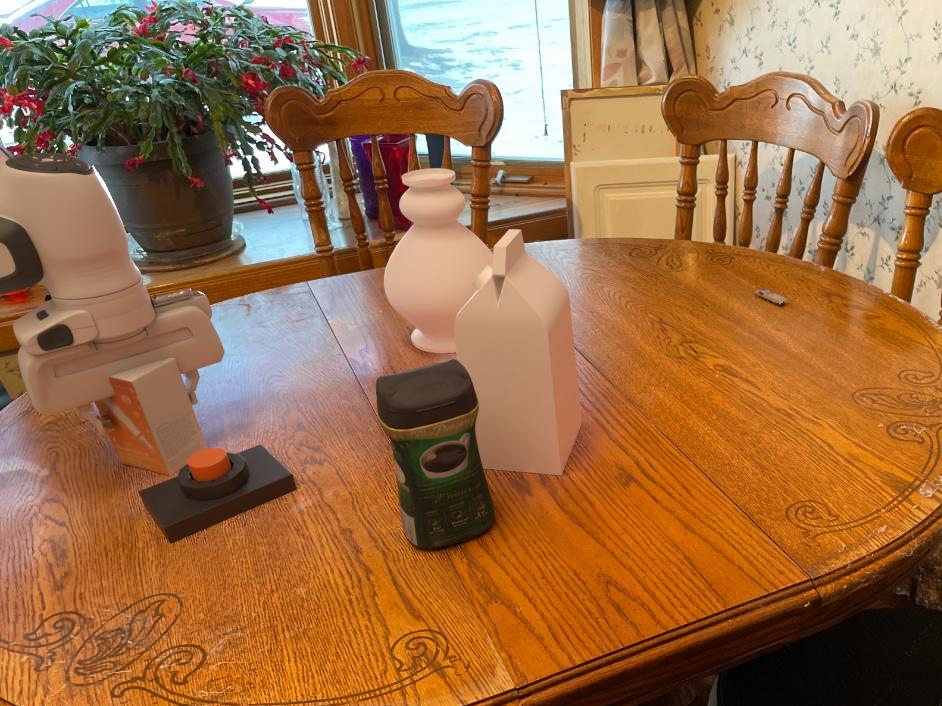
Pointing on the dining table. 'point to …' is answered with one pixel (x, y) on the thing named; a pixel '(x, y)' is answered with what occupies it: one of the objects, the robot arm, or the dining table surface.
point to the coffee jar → (436, 453)
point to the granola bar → (771, 295)
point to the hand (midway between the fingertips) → (149, 417)
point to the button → (209, 464)
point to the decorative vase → (434, 260)
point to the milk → (521, 362)
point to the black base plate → (216, 493)
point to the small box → (152, 418)
